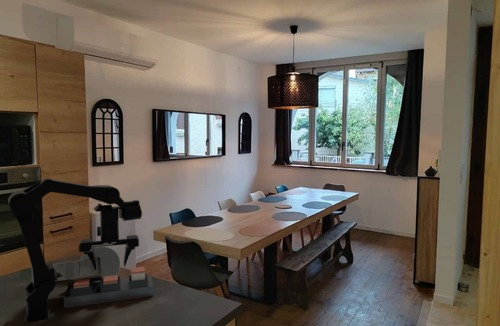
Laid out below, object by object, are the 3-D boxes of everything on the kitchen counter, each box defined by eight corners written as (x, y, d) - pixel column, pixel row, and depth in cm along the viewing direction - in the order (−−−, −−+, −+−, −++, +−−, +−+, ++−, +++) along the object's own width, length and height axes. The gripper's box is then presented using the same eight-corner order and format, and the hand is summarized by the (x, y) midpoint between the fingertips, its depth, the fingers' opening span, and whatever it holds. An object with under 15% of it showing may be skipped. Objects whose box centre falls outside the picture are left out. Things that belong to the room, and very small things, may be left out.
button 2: (117, 288, 120) (117, 279, 120) (103, 290, 118) (103, 281, 118) (117, 283, 124) (117, 275, 124) (104, 285, 122) (103, 276, 122)
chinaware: (131, 267, 139) (129, 260, 133) (102, 300, 131) (99, 294, 125) (102, 246, 142) (98, 239, 136) (72, 277, 134) (67, 271, 127)
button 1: (145, 279, 123) (145, 270, 123) (131, 281, 121) (131, 272, 121) (144, 274, 127) (144, 266, 127) (131, 276, 125) (131, 268, 125)
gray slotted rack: (153, 295, 123) (153, 279, 123) (64, 308, 113) (63, 290, 113) (151, 284, 132) (151, 269, 132) (68, 295, 123) (67, 278, 122)
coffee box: (52, 271, 125) (102, 263, 131) (52, 289, 122) (102, 281, 128) (48, 263, 118) (100, 256, 123) (47, 283, 115) (101, 274, 120)
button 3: (88, 292, 117) (88, 283, 117) (73, 294, 115) (73, 285, 115) (89, 287, 121) (89, 278, 121) (75, 288, 119) (75, 280, 119)
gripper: (137, 216, 131) (137, 257, 132) (81, 219, 124) (82, 263, 125) (138, 222, 120) (139, 267, 121) (78, 227, 114) (79, 274, 115)
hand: (110, 267), depth 121 cm, fingers open, 9 cm apart
